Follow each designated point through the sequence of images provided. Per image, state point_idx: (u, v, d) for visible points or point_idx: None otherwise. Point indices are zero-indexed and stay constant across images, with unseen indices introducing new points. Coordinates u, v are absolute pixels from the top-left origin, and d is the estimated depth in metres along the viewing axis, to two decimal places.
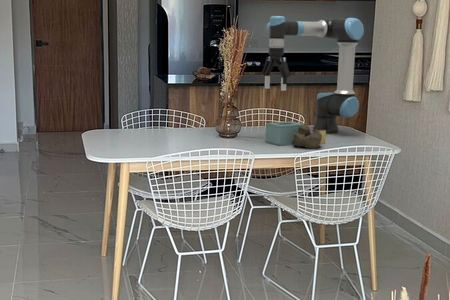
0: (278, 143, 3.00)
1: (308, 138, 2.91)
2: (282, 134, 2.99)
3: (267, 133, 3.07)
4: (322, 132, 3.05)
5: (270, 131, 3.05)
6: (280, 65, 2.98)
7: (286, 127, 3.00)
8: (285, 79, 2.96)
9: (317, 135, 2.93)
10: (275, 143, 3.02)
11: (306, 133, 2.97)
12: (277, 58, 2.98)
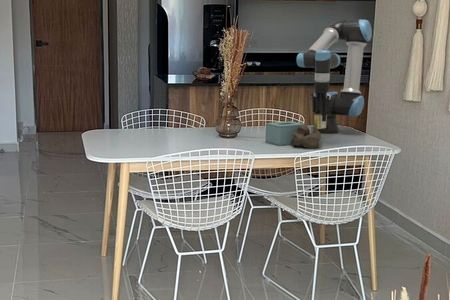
0: (278, 143, 3.00)
1: (307, 138, 2.91)
2: (282, 134, 2.99)
3: (267, 133, 3.07)
4: None
5: (270, 131, 3.05)
6: (324, 101, 3.01)
7: (286, 127, 3.00)
8: (324, 116, 3.02)
9: (316, 135, 2.93)
10: (275, 143, 3.02)
11: (305, 133, 2.97)
12: (323, 92, 2.99)
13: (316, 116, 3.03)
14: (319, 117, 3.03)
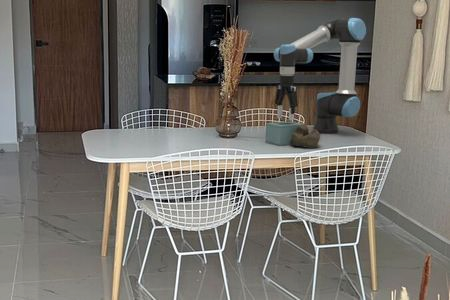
0: (278, 143, 3.00)
1: (306, 138, 2.92)
2: (282, 134, 2.99)
3: (267, 133, 3.07)
4: None
5: (270, 131, 3.05)
6: (290, 94, 3.01)
7: (286, 127, 3.00)
8: (293, 109, 3.00)
9: (315, 135, 2.94)
10: (275, 143, 3.02)
11: (304, 132, 2.98)
12: (288, 86, 3.00)
13: None
14: None
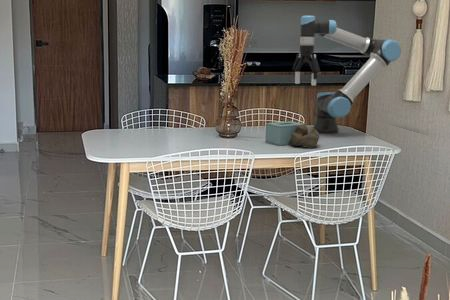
0: (278, 143, 3.00)
1: (305, 137, 2.92)
2: (282, 134, 2.99)
3: (267, 133, 3.07)
4: None
5: (270, 131, 3.05)
6: (310, 61, 3.18)
7: (286, 127, 3.00)
8: (315, 74, 3.16)
9: (314, 134, 2.94)
10: (275, 143, 3.02)
11: (303, 132, 2.98)
12: (308, 55, 3.18)
13: None
14: None
